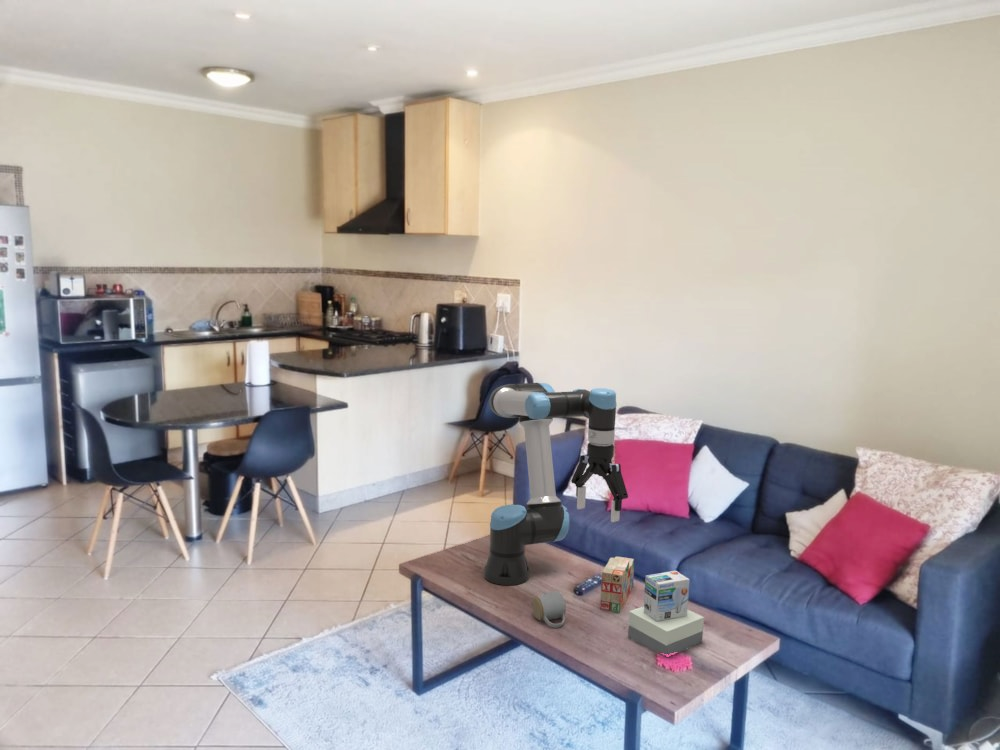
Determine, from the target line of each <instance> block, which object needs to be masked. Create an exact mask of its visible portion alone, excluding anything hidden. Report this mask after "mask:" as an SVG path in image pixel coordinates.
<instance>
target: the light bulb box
mask: <svg viewBox="0 0 1000 750" xmlns="http://www.w3.org/2000/svg"><path fill="white" fill-rule="evenodd" d="M644 581H645V583H644V598H643V606H644V612H645V613H647V614H648V615H649V616H650V617H652V618H653V619H654V620H656V621H660V620H666V619H672V618H677V617H683V616H687V611H688V610H689V607H688V606H689V596H690V595H689V594H690V578H688V577H687V576H685V575H683V573H682V574H681V573H680V572H679V571H678V570H671V571H664V572H660V573H659V572H658V573H654V574H648V575H645V580H644Z"/></svg>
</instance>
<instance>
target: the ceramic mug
mask: <svg viewBox="0 0 1000 750" xmlns="http://www.w3.org/2000/svg"><path fill="white" fill-rule="evenodd" d="M531 609H532V614H533V616H534V618H536V620H537V621H542V622H543V621H544V622H545V624H546V625H548V626H549V627H551V628H554V629H555V628H556V629H558V628H562V627H563V626H564V624H565V620H566V618H565V617H566V613H567V606H566V601H565V598H564V596H563V594H562V592H561V591H560V590H553V591H549V592H546V593H542V594H539V595H536V596H535V597H533V598H532V601H531ZM561 618H562V621H561V622H559V623H553V622H551V621H550V620H556V619H561Z"/></svg>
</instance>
